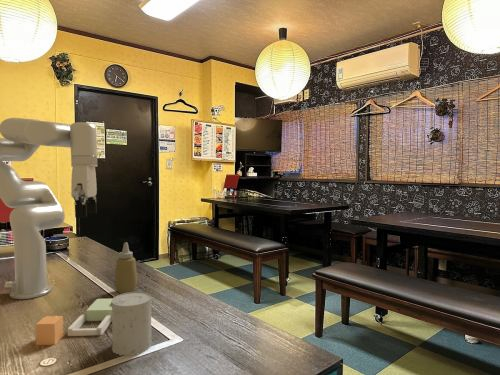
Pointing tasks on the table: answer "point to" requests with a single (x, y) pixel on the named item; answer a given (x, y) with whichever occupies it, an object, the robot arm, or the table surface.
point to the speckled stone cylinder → (131, 323)
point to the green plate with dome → (93, 319)
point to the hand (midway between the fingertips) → (86, 215)
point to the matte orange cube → (49, 330)
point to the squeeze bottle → (125, 271)
